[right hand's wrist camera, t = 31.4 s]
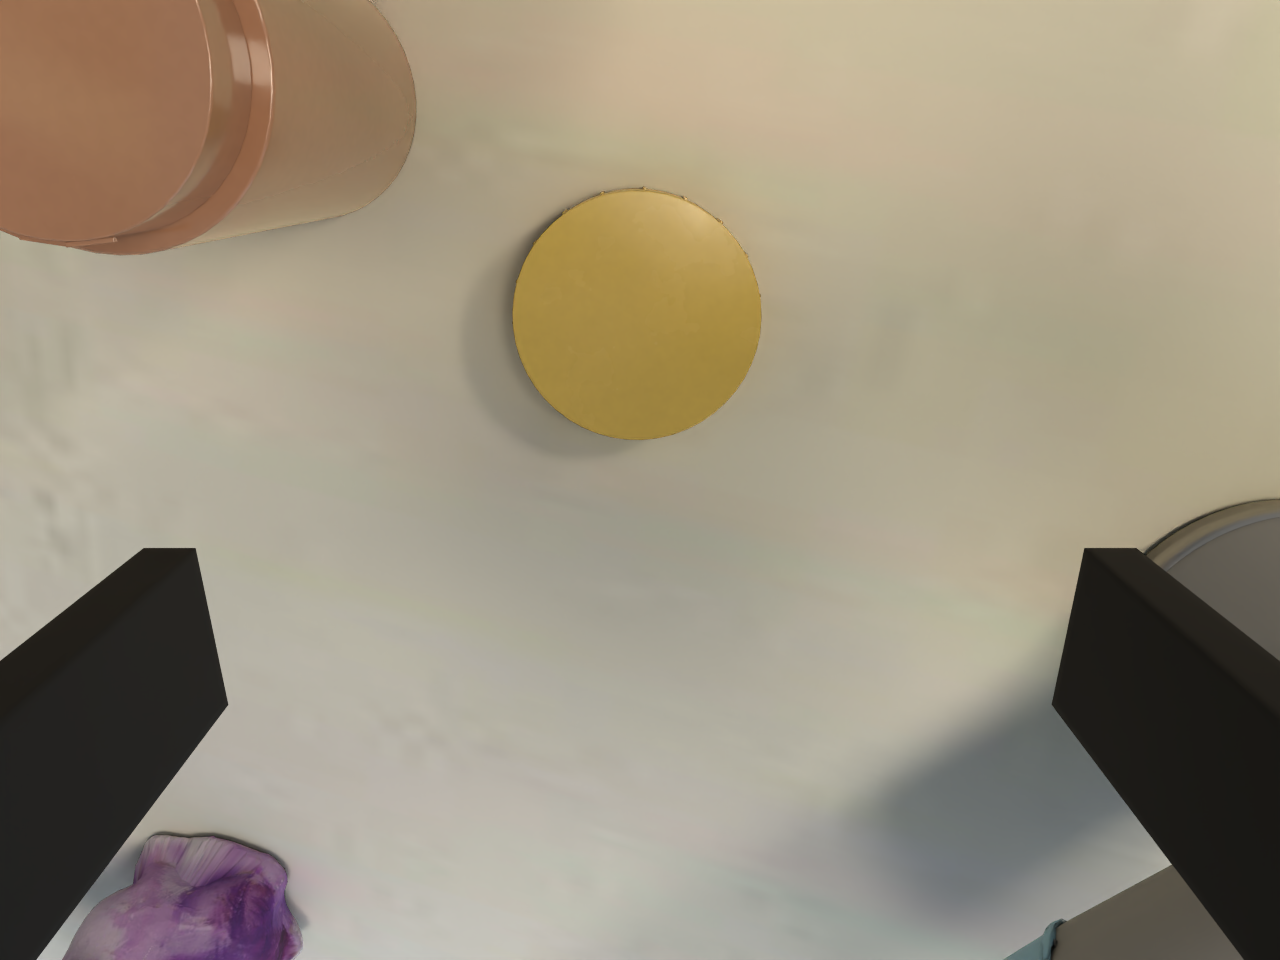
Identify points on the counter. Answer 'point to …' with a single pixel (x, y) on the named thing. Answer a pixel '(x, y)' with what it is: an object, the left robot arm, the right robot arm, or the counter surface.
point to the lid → (636, 314)
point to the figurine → (194, 907)
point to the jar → (194, 118)
